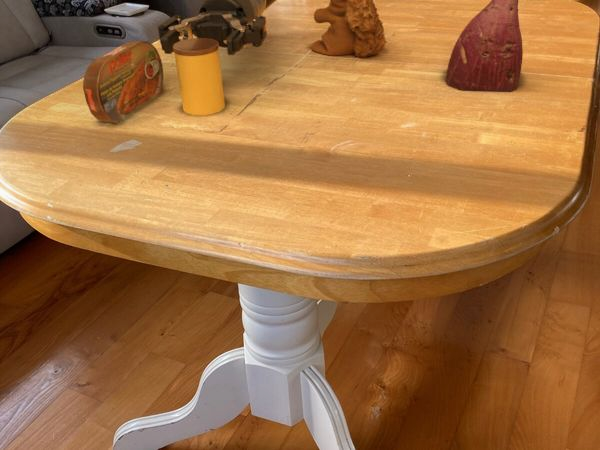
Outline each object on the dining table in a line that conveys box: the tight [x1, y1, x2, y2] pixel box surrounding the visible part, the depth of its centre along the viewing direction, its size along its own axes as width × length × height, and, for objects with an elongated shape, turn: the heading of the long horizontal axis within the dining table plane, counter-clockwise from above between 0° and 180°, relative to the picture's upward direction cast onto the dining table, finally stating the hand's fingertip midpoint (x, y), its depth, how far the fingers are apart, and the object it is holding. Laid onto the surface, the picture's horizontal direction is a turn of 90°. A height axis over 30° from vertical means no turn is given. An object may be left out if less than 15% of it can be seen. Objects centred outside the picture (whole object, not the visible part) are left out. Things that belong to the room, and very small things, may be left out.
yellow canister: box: [173, 37, 226, 116], centre depth 77 cm, size 6×6×9 cm
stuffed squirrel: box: [310, 0, 388, 58], centre depth 95 cm, size 10×14×13 cm
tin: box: [82, 40, 164, 124], centre depth 78 cm, size 15×3×8 cm, turn 161°
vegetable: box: [445, 0, 524, 93], centre depth 82 cm, size 10×10×15 cm
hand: (197, 46), depth 75 cm, fingers open, 8 cm apart
